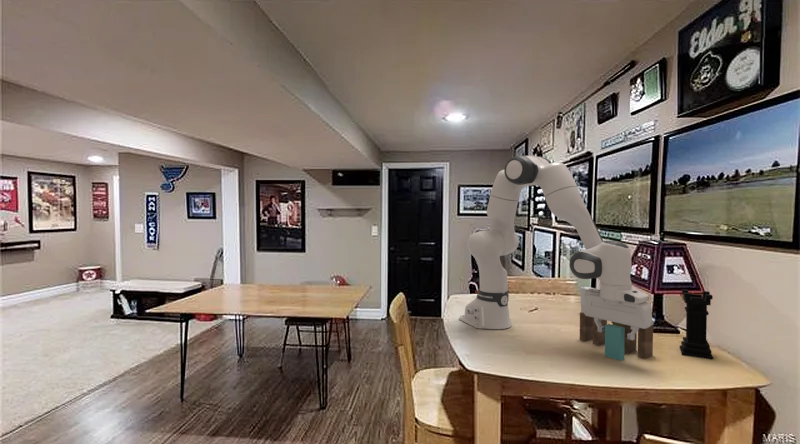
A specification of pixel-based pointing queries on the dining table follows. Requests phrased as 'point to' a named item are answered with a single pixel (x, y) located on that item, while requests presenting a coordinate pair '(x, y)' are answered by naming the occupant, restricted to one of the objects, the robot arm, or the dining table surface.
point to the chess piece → (696, 325)
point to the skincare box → (583, 296)
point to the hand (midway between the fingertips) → (615, 335)
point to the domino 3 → (614, 341)
